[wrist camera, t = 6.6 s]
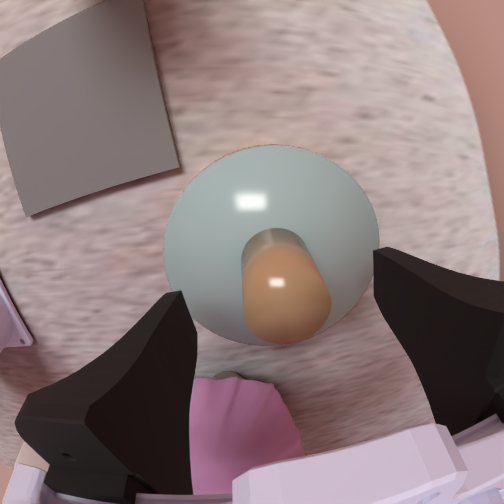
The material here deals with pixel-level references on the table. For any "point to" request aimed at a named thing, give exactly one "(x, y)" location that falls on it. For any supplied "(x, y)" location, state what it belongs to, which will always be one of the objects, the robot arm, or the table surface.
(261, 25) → the table surface
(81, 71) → the mat
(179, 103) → the table surface
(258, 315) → the lid
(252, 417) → the toy character
